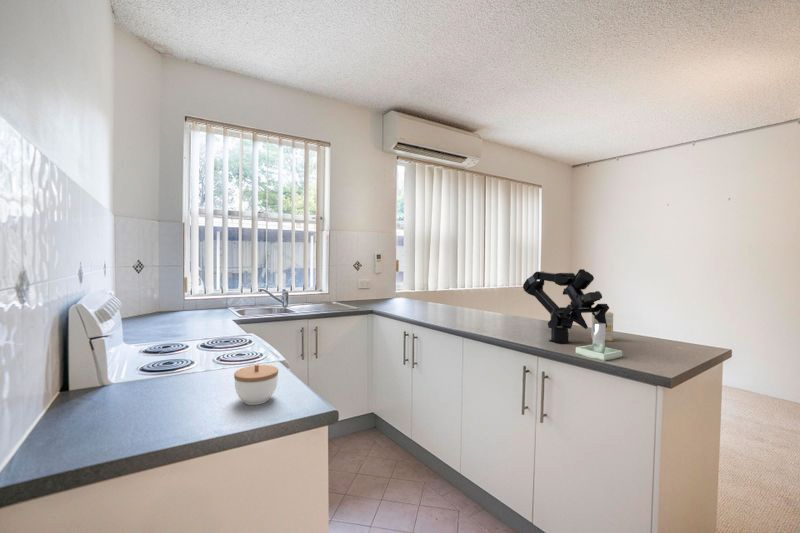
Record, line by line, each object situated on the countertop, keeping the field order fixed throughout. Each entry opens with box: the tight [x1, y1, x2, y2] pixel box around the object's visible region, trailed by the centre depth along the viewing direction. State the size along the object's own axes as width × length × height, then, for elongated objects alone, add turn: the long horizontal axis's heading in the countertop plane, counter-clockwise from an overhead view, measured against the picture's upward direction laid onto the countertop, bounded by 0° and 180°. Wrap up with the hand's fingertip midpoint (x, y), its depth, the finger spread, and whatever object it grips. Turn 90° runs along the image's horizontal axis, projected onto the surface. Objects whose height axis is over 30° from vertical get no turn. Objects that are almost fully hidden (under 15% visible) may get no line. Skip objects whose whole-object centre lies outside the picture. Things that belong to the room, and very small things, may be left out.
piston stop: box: [591, 322, 606, 354], centre depth 143 cm, size 4×4×12 cm
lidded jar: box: [233, 363, 279, 406], centre depth 96 cm, size 11×11×9 cm
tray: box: [575, 344, 623, 362], centre depth 143 cm, size 12×12×2 cm
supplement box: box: [591, 311, 614, 342], centre depth 170 cm, size 8×5×13 cm, turn 71°
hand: (596, 327), depth 144 cm, fingers open, 9 cm apart
